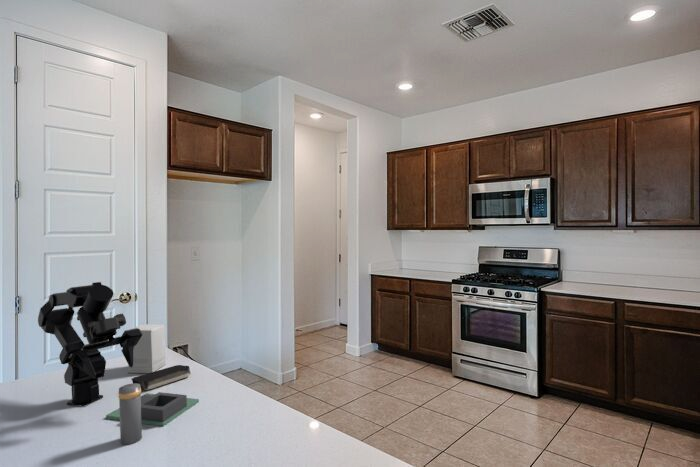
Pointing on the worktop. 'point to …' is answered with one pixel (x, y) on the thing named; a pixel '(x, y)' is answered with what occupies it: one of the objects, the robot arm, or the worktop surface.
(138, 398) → the plug
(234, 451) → the worktop surface
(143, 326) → the supplement box
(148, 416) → the header board
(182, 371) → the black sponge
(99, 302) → the robot arm
